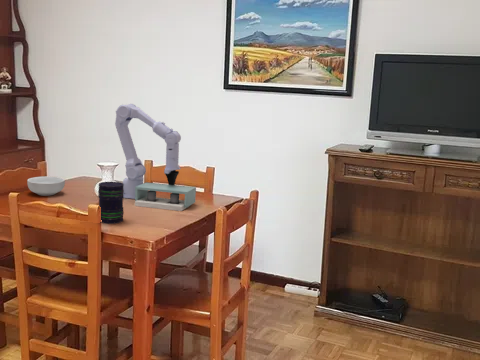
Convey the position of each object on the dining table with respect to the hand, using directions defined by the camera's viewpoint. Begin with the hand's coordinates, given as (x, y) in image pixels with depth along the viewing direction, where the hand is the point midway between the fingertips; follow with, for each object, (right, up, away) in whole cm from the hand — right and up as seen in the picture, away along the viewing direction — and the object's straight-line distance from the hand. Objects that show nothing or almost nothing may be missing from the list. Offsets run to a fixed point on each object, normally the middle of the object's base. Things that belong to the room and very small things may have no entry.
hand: (171, 186), depth 264 cm
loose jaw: (-8, -8, -7) cm, 13 cm away
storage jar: (-20, -13, -38) cm, 45 cm away
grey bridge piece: (-2, -7, -6) cm, 9 cm away
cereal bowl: (-60, -4, +3) cm, 60 cm away
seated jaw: (+2, -9, -10) cm, 13 cm away
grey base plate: (-3, -8, -8) cm, 12 cm away
